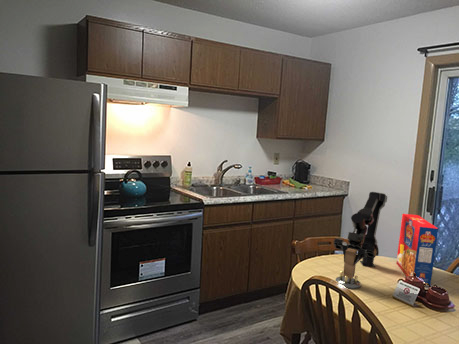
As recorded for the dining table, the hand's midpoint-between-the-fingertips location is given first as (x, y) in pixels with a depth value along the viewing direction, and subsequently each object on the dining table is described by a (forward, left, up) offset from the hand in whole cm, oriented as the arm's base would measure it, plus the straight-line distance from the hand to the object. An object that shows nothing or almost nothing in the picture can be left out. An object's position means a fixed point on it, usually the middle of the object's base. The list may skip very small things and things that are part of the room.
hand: (349, 263), depth 169 cm
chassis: (-1, +1, -10) cm, 10 cm away
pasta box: (-22, +38, -10) cm, 45 cm away
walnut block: (-1, +1, -7) cm, 7 cm away
